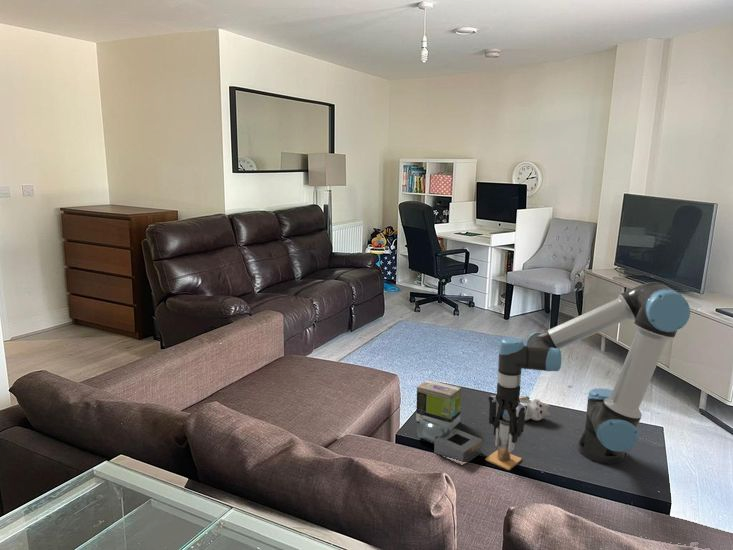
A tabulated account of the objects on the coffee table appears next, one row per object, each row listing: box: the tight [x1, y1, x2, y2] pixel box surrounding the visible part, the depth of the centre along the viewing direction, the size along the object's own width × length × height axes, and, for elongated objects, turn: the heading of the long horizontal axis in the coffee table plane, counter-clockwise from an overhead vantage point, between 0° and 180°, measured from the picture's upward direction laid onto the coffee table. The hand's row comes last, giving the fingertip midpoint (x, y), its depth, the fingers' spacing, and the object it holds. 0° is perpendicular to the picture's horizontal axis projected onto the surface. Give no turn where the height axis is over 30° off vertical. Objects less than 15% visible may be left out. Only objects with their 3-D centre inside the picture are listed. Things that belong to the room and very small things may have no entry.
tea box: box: [415, 379, 462, 430], centre depth 208 cm, size 15×10×15 cm, turn 56°
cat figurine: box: [516, 395, 551, 422], centre depth 212 cm, size 10×8×15 cm
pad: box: [485, 449, 523, 471], centre depth 182 cm, size 9×9×1 cm
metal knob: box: [497, 415, 512, 461], centre depth 181 cm, size 5×5×14 cm
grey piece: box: [416, 419, 484, 463], centre depth 189 cm, size 22×12×7 cm, turn 46°
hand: (504, 447), depth 181 cm, fingers closed on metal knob, 4 cm apart
